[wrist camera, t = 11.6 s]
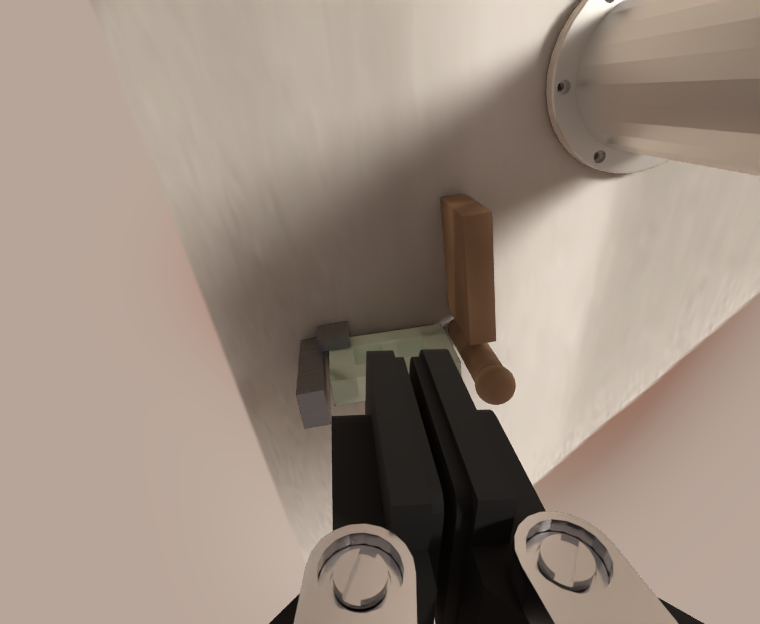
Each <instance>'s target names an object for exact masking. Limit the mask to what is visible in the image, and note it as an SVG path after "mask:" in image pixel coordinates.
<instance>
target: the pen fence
mask: <svg viewBox="0 0 760 624" xmlns="http://www.w3.org/2000/svg"><path fill="white" fill-rule="evenodd" d="M440 199H441V212H442V225H443V238H444V252H445V265H446V278H447V291H448V304H449V310H450V312H451V314H452V315H453V317H454V320H452V321H451V323H450V324H449V327H448V333H449V335H450V337H451V339H452V341H453V342H454V344H455V346H456V348H457V350H458V352H459V354H460V355H461V357H462V359H463V361H464V363H465V365H466V367H467V369H468V370H469V372H470V374H471V376H472V378H473V380H474V382H475V388H476V391H477V394H478V395H479V397H480V398H481V399H482V400H483V401H485V402H487V403H489V404H493V405H499V404H503V403H505V402H507V401H508V400H510V399H511V397H512V396H513V394H514V392H515V387H516V385H515V379H514V377H513V375H512V373H511V372H510V371H509V370H508V369H506V368H505V367H503V366H502V364H501V363H500V361H499V360H498V358H497V357H496V355H495V354H494V352H493V351H492V349H491V348H490V346H489V345H488V342H493V341H496V327H495V292H494V258H493V224H492V212H491V211H489V210H488V209H486V208H485V207H484V206H482V205H481V204H479V203H478V202H476V201H475V200H473V199H472V198H470V197H469V196H467V195H466V194H459V195H453V196H447V197H441V198H440Z"/></svg>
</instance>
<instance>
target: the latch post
mask: <svg viewBox="0 0 760 624" xmlns="http://www.w3.org/2000/svg"><path fill="white" fill-rule="evenodd" d="M347 347H351V345H350V336H349V329H348V324H347V321H345V322H339V323H333V324H327V325H322V326H317V338H313V339H307V340H301V342H300V354H299V366H298V378H297V390H296V397H297V401H298V405H299V408H300V412H301V416H302V420H303V424H304V428H305V429H306V428H312V427H317V426H323V425H329V424H331V406H330V372H329V362H328V358H327V353H326V351H329V350H335V349H341V348H347Z"/></svg>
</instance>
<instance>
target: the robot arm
mask: <svg viewBox="0 0 760 624" xmlns="http://www.w3.org/2000/svg"><path fill="white" fill-rule="evenodd" d="M559 83H560V84H561V89H560V90H559V91H558V89H557V88H558V84H559ZM546 97H547V106H548V114H549V117H550V120H551V123H552V127H553V130H554V132H555V133H556V135H557V137H558V139H559V141H560V143H561V144H562V145H563V147H564V148H565V149H566V150H567V151H568V152H569V153H570V155H571V156H573V157H574V158H575V159H577V160H578V161H580V162H581V163H583V164H584V165H587V166H589V167H592V168H594V169H596V170H600V171H605V172H609V173H620V174H629V173H635V172H641V171H645V170H647V169H650V168H653V167H656V166H659V165H661V164H662V163H664V162H666V161H668V160H669V159H670V160H675V161H680V162H686V163H691V164H697V165H702V166H708V167H713V168H718V169H724V170H729V171H735V172H740V173H746V174H751V175H756V176H760V0H582V1H581V2H580V3H579V4H578V6H577V7H576V8H575V9H574V11H573V12H572V13H571V15H570V16H569V18H568V20H567V22H566V23H565V25H564V27H563V29H562V30H561V32H560V34H559V37H558V39H557V42H556V44H555V47H554V50H553V52H552V56H551V60H550V65H549V69H548V73H547V89H546ZM595 153H596V156H595V157H594V154H595ZM332 499H333V531H332V532H331V533H329V534H328V535H326V536H325V537H324V538H322V539H321V540H320V541H319V543H318V544H317V545H316V546H315V548H314V549H313V550H312V551H311V554H310V556H309V559H308V562H307V564H306V567H305V572H304V577H303V581H302V586H301V591H300V594H299V595H298V596H297V597H296V598H295V599H294V600H293V601H292V602H291V603H290V604H289V605H288V606H287V607H286V608H285V609H283V610H282V611H281V613H279V615H277V616H276V617H275V618H274V619H273V620H272V621H271V622H270V623H269V624H434V618H435V623H436V624H704V623H702V622H700V621H698V620H697V619H695V618H693V617H691V616H690V615H688V614H686V613H684V612H683V611H681V610H679V609H677V608H675V607H674V606H672V605H670V604H668V603H667V602H665V601H663V600H661V599H660V598H658V597H656V595H655V594H654V593H653V592H652V590H651V589H650V588H649V587H648V585H647V584H646V583H645V582H644V581H643V579H642V578H641V577H640V575H639V574H638V573H637V572H636V571H635V569H634V568H633V567H632V566H631V564H630V563H629V562H628V561H627V559H626V558H625V557H624V556H623V554H622V553H621V552H620V551H619V550H618V548H617V547H616V546H615V544H614V543H613V542H612V541H611V540H610V539H609V538H608V537H607V536H606V535H605V534H604V533H603V532H602V531H601V530H599V529H598V528H596V527H595V526H593V525H592V524H590V523H589V522H587V521H585V520H583V519H581V518H578V517H576V516H573V515H571V514H567V513H562V512H556V511H547V512H546V511H545V509H544V507H543V505H542V503H541V501H540V499H539V497H538V495H537V493H536V492H535V490H534V488H533V486H532V484H531V482H530V480H529V478H528V476H527V474H526V472H525V470H524V469H523V467H522V465H521V463H520V461H519V459H518V457H517V455H516V453H515V451H514V449H513V447H512V445H511V444H510V442H509V440H508V438H507V436H506V434H505V432H504V430H503V428H502V426H501V424H500V422H499V421H498V419H497V417H496V415H495V414H494V412H493V411H491V410H477V409H476V407H475V405H474V403H473V401H472V399H471V397H470V394H469V392H468V390H467V388H466V386H465V384H464V382H463V380H462V377H461V375H460V373H459V371H458V369H457V367H456V365H455V363H454V360H453V358H452V356H451V354H450V352H449V350H448V349H421V350H420V353H419V356H417V357H411V359H410V368H409V373H408V369H407V366H406V363H405V359H404V357H395V354H394V351H393V350H387V351H367V352H366V396H365V415H351V416H332Z"/></svg>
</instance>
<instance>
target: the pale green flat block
mask: <svg viewBox="0 0 760 624" xmlns="http://www.w3.org/2000/svg"><path fill="white" fill-rule="evenodd" d="M350 345H351V347H347V348H341V349H335V350H329V366H330V385H331V390H332V396H333V401H334V406H336V405H342V404H349V403H355V402H362V401H365V396H366V352H367V351H387V350H393V351H394V354H395V357H404V359H405V363H406V366H407V369H408V373H409V368H410V359H411V357H417V356H419V353H420V350H421V349H448V350H449V352H450V354H451V356H452V358H453V360H454V363H455V365H456V367H457V369H458V371H459V373H460V375H461V361H460V360H459V358H458V356H457V354H456V352H455V350H454V348H453V346H452V344H451V342H450V340H449V338H448V337H447V335H446V333H445V331H444V329H443V327H442V325H441V324H437V325H430V326H423V327H416V328H409V329H402V330H395V331H389V332H382V333H375V334H368V335H361V336H354V337H350Z"/></svg>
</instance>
